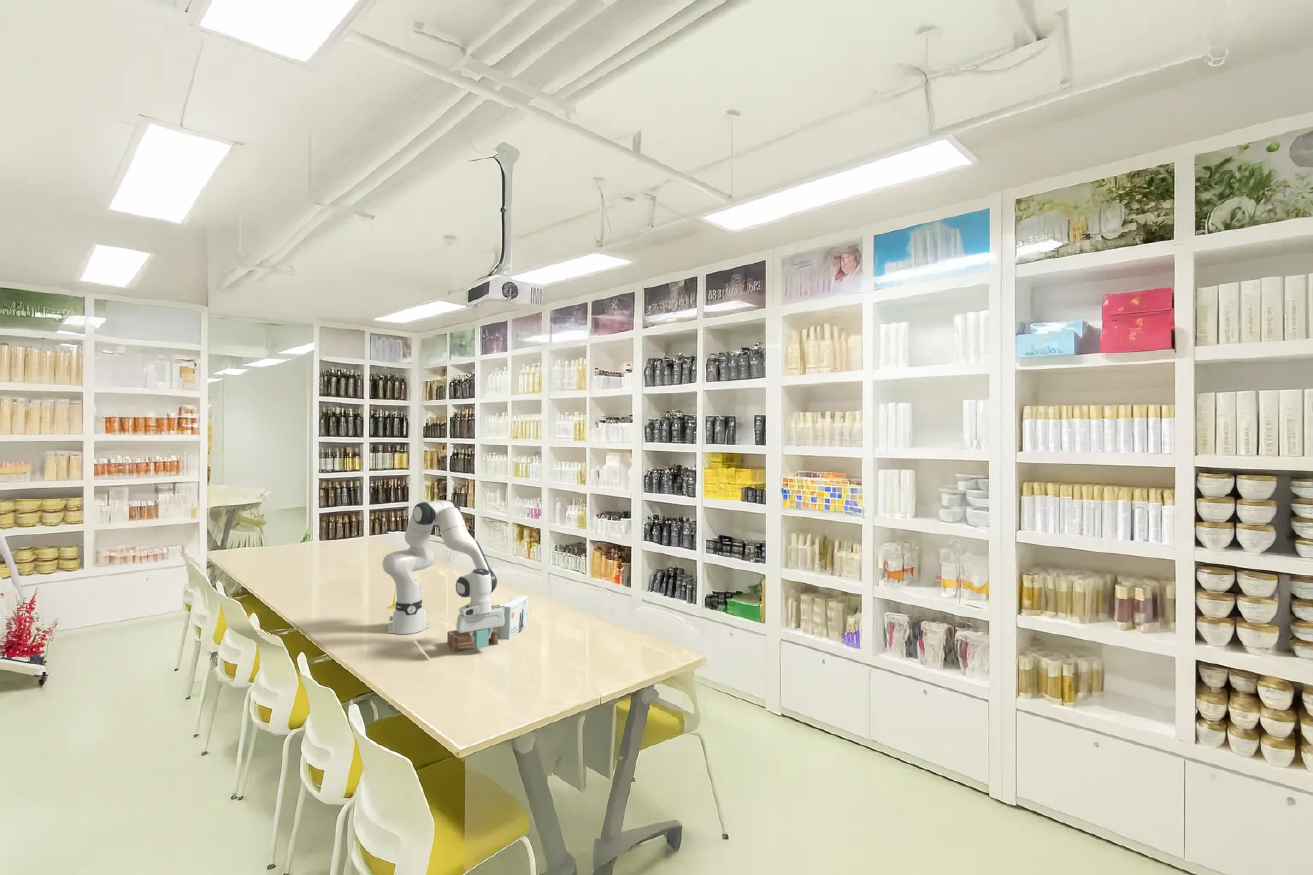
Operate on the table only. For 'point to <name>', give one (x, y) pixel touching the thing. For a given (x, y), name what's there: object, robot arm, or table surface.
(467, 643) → the open-fronted box
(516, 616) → the skincare box
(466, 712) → the table surface
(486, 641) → the teal block
